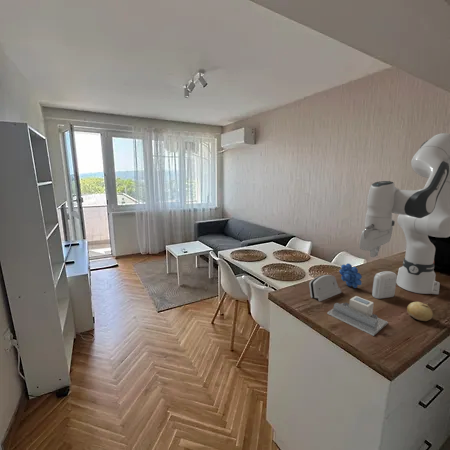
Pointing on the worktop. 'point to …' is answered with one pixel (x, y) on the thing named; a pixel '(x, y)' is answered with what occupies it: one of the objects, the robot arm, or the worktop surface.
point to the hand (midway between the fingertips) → (373, 256)
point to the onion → (420, 311)
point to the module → (361, 305)
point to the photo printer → (384, 284)
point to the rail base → (380, 323)
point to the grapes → (350, 275)
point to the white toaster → (324, 287)
